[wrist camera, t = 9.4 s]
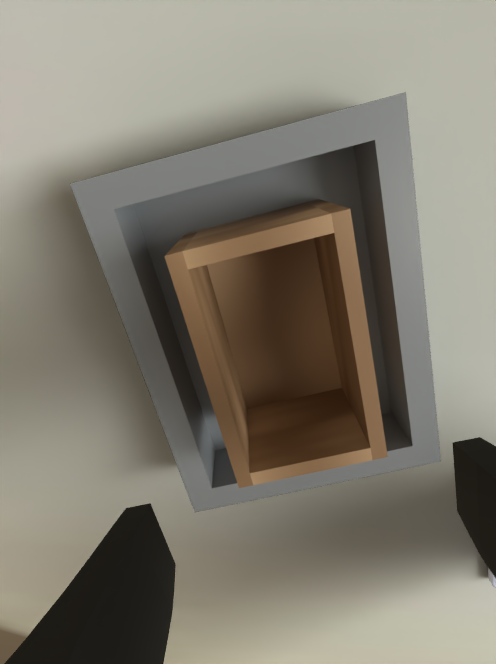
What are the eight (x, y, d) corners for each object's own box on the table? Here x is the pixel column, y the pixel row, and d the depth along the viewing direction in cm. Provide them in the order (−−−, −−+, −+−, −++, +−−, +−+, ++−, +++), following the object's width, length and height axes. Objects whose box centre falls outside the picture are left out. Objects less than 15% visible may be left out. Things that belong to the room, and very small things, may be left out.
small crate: (319, 199, 15) (350, 208, 11) (352, 389, 18) (387, 457, 13) (185, 233, 15) (164, 255, 11) (239, 414, 18) (239, 488, 14)
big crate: (373, 108, 14) (405, 92, 11) (411, 418, 19) (440, 461, 16) (101, 181, 15) (69, 183, 12) (201, 463, 20) (194, 512, 17)
